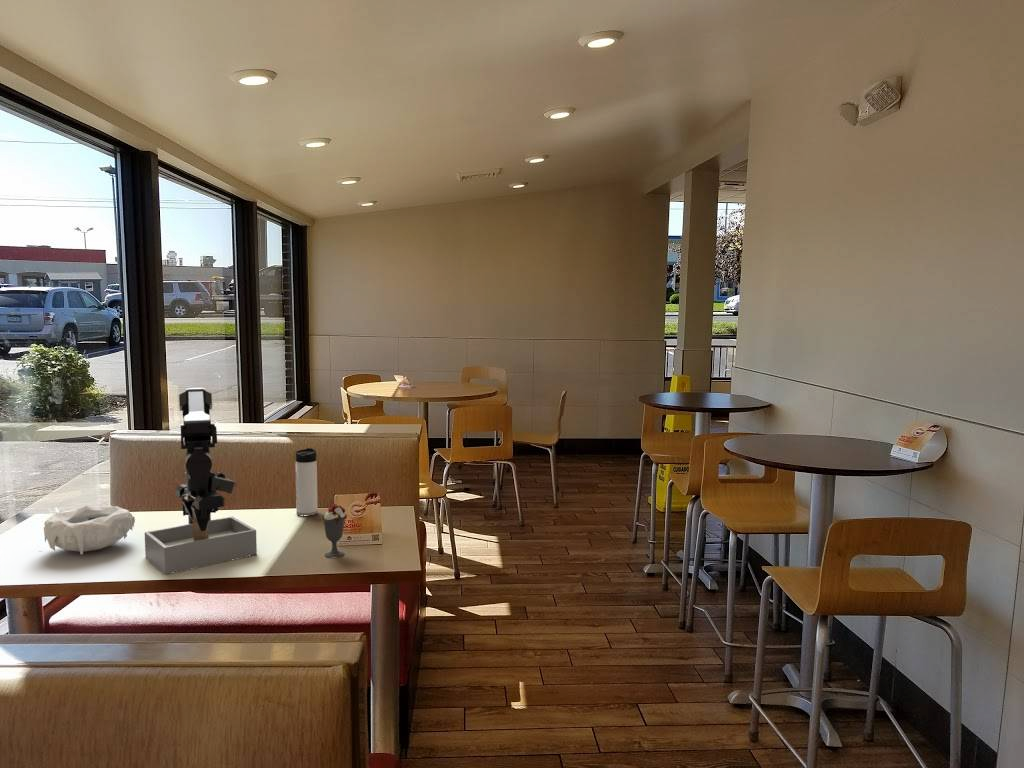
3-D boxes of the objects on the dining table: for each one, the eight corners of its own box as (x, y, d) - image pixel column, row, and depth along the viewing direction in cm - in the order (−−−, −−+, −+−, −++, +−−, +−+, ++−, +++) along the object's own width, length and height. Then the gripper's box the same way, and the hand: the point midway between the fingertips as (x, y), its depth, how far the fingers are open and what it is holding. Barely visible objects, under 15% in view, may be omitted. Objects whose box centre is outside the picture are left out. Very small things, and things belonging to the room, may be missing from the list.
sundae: (324, 560, 180) (323, 502, 178) (318, 552, 186) (317, 496, 184) (350, 557, 183) (350, 499, 181) (344, 549, 189) (343, 493, 187)
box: (145, 557, 181) (144, 532, 181) (233, 539, 196) (232, 516, 195) (165, 574, 169) (164, 547, 169) (256, 554, 184) (256, 529, 183)
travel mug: (321, 511, 225) (319, 448, 223) (313, 517, 218) (312, 452, 216) (301, 510, 225) (300, 447, 224) (293, 516, 219) (291, 451, 217)
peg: (191, 540, 182) (190, 501, 181) (205, 537, 185) (204, 499, 184) (196, 543, 180) (194, 504, 179) (210, 541, 182) (209, 502, 181)
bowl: (33, 549, 187) (31, 511, 186) (118, 532, 202) (116, 497, 201) (57, 568, 173) (55, 528, 172) (147, 549, 188) (145, 511, 187)
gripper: (245, 470, 179) (246, 531, 180) (217, 458, 193) (219, 515, 194) (198, 476, 171) (200, 540, 173) (173, 464, 185) (176, 523, 187)
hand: (200, 529), depth 182 cm, fingers closed on peg, 3 cm apart
